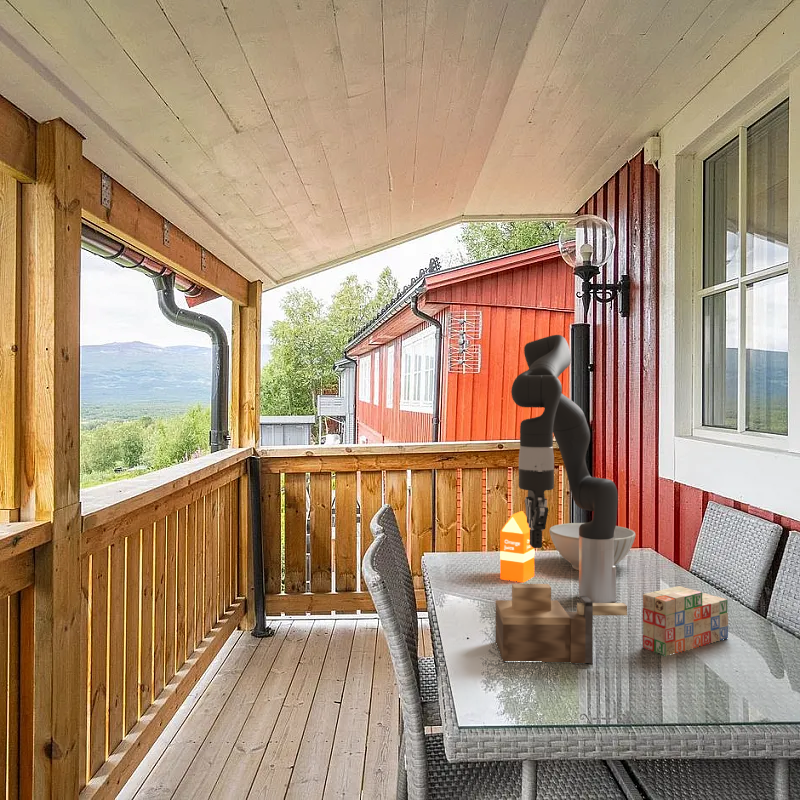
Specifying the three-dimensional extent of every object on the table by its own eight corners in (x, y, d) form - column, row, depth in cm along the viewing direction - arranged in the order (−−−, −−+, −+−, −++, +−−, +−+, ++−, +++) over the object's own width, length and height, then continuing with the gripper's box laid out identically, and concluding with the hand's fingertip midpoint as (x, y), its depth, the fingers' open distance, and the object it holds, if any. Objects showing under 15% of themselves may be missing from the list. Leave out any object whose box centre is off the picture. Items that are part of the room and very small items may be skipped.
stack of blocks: (704, 631, 164) (704, 579, 164) (728, 639, 159) (728, 586, 159) (642, 648, 154) (642, 592, 153) (665, 657, 148) (665, 600, 148)
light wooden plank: (624, 612, 147) (624, 602, 147) (627, 615, 145) (627, 605, 145) (577, 612, 147) (577, 602, 147) (579, 615, 145) (579, 605, 145)
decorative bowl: (647, 579, 210) (647, 539, 210) (559, 578, 210) (559, 539, 210) (620, 558, 237) (620, 522, 237) (542, 557, 237) (542, 522, 237)
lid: (557, 611, 157) (557, 578, 157) (570, 629, 145) (570, 593, 145) (495, 611, 157) (495, 578, 157) (503, 629, 145) (503, 593, 145)
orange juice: (534, 576, 213) (534, 511, 213) (523, 582, 206) (523, 515, 206) (511, 572, 218) (511, 509, 217) (499, 579, 210) (499, 513, 210)
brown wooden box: (577, 642, 157) (577, 585, 157) (592, 664, 144) (592, 602, 144) (495, 642, 157) (495, 585, 157) (503, 664, 144) (503, 602, 144)
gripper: (513, 463, 157) (513, 540, 157) (525, 470, 143) (524, 554, 143) (546, 464, 157) (546, 540, 157) (561, 470, 143) (560, 554, 143)
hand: (535, 546), depth 150 cm, fingers closed
